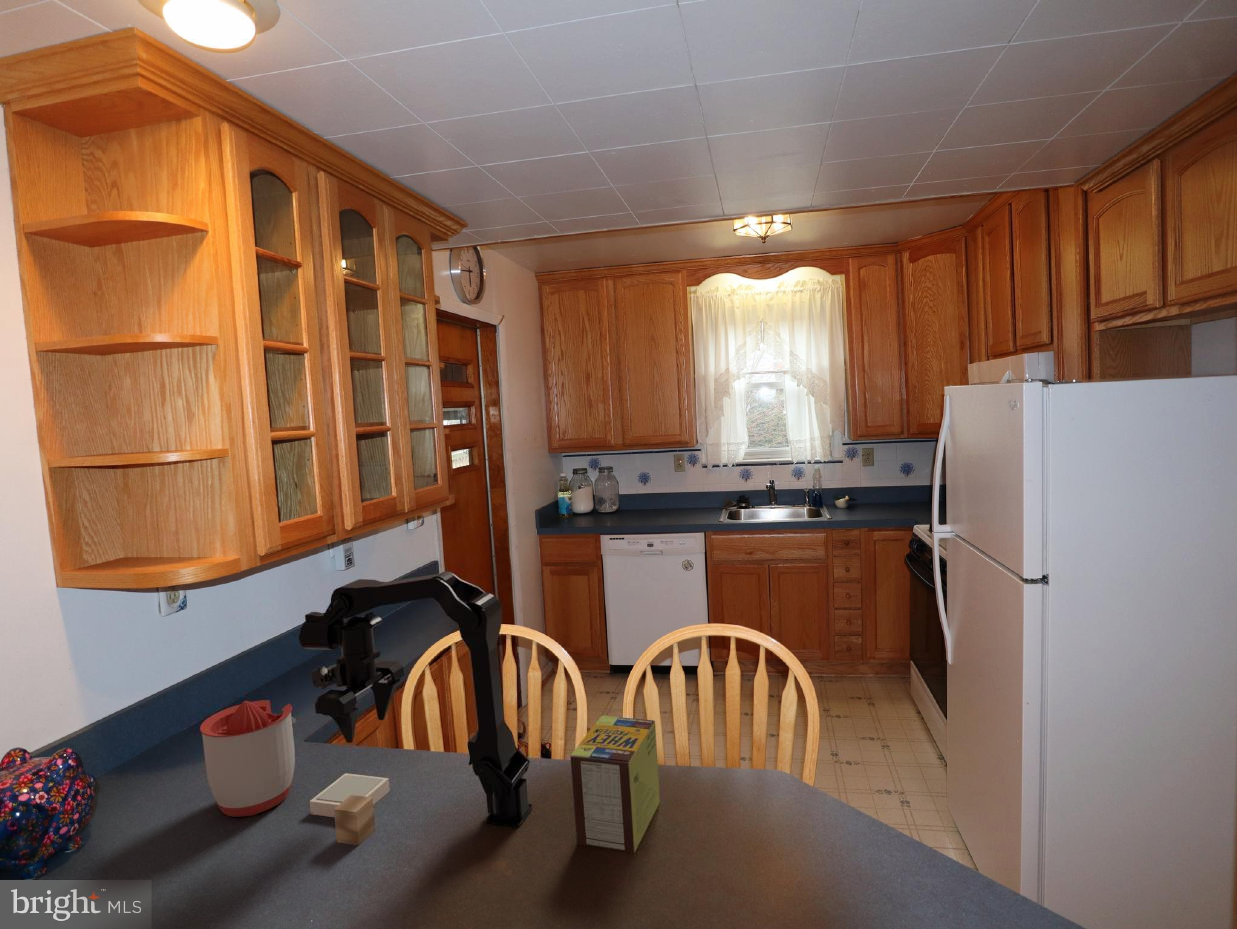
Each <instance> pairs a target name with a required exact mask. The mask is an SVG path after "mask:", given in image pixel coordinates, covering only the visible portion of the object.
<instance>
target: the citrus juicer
mask: <svg viewBox="0 0 1237 929" xmlns="http://www.w3.org/2000/svg"><path fill="white" fill-rule="evenodd" d="M292 710H293V706H292V704H290V703H288V704H287V705H285V706H284V707H283V708H281V714H276V713H272V709H271V701H270V699H268V700H267V699H266V700H264V699H262V700H256V701H255V700H254V701H249V700H244V701H243V702H241V704H237V705H234V706H231V707H228V708H225V709H223V710H220V711H219V712H216V713H214V714H212V715H211V716H210V717H208V718H206V719H204V721H202V723H201V724H200V728H199V731H200V733H201V736H202V737H201V738H202V745H203V753H204V754H203V755H204V763H205V770H206V771H205V772H206V776H207V781H208V785H209V787H210V790H211V794H212V795H213V797H214V800H215V803H216V805H217V806H218V809H220V811H221V812H222V813H223V814H224V815H226V816H228V817H237V818H239V817H240V818H241V817H253V816H255V815H257V814H259V813H262V812H263V813H264V812H265V811H268V810H270V809H272V808H274V807H275V806H277V805H279V804H280V803H282V802H283V801H284V800H285V799H286V798H287V796H289V792H290V790H291V786H292V784H293V778H294V777H293V776H294V772H295V764H296V757H295V756H296V754H295V740H294V732H293V724H295V723H297V718H295V717H293V716H292Z"/></svg>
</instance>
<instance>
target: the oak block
mask: <svg viewBox="0 0 1237 929" xmlns="http://www.w3.org/2000/svg"><path fill="white" fill-rule="evenodd" d="M374 808H375V807H374V805H373V798H372V797H364V796H356V795H350V796H349V797H348V798H347V799H345V800H344V801H343V802H342V803H341V804H339V805H338V806H337V807H336V808H335V809H334V816H335V817H334V825H335V835H336V843H340V844H348V845H354V846H361V845H362V844H363V843H364V841H366V840H367V839H368V838H369V837H370V836H371V835H372V834H373V833H374V832H375V831H376V829H377V828H376V821H375V809H374Z"/></svg>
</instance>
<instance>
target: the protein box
mask: <svg viewBox="0 0 1237 929" xmlns="http://www.w3.org/2000/svg"><path fill="white" fill-rule="evenodd" d="M569 757H570V769H571V781H572V782H571V783H572V794H573V810H574V824H575V835H576V844H577V845H580V846H586V847H587V846H588V847H592V848H593V847H594V848H600V849H606V850H613V851H619V852H624V853H630V854H631V853H632V854H635V853H636V851H637V849H638V847H639V845H640V843H641V841H642V839H643V837H644V835H645V833H646V831H647V830H648V827H649V825H650V823H651V821H652V819H653V817H654V815H655V813H656V811H657V809H658V807H659V806H660V805H659V804H661V801H660V797H661V796H660V784H659V781H660V780H659V779H660V778H659V765H658V764H659V763H658V747H657V733H656V720H654V719H653V720H651V719H642V718H640V719H639V718H629V717H621V716H620V717H619V716H611V715H600V717H599V718H598V720H597V721H596V722H595V724H594V725H593V726H592V727H591V729H590V730H589V731H588V732H587V734H586V735H585V736H584V737H583V739H582V740H581V741H580V742H579V744H578V745H577V746H576V748H575V749H573V751H572V752H571V754H570V755H569Z"/></svg>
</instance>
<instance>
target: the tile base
mask: <svg viewBox="0 0 1237 929" xmlns="http://www.w3.org/2000/svg"><path fill="white" fill-rule="evenodd" d="M390 791H391V789H390V778H388V777H382V776H381V777H380V776H371V775H364V774H363V775H362V774H354V773H347V772H346V773H344V774H342V775H341V776H340V777H339V778H337V779H336V780H335V781H334V782H333V783H332V782H331V784H330V785H328V786H327V787H326V788H325V789H323V790H322V791H320V793H317V795H315V796H314V797H313V798H312V799H311V800H309V808H310V814H311V815H314V816H316V815H317V816H322V817H329V818H330V817H331V818H335V816H334V809H335V808H336V807H337V806H338V805H339V804H341V803H342V802H343V801H344V800H345V799H347V798H348V797H349V796H350V795H356V796H364V797H372V798H373V806H375V805H376V804H377V802H379V801H380V800H381V799H383V797H385V796H386V795H387V794H388V793H389V792H390Z"/></svg>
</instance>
